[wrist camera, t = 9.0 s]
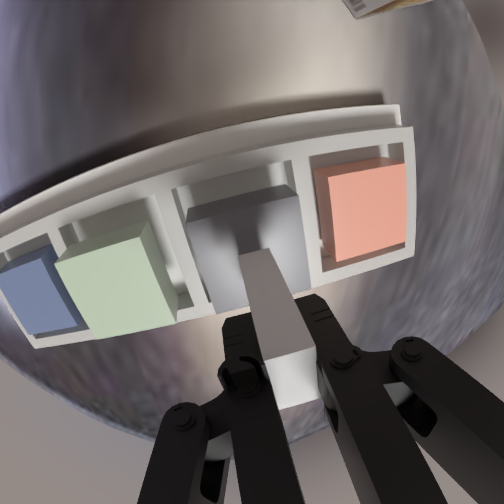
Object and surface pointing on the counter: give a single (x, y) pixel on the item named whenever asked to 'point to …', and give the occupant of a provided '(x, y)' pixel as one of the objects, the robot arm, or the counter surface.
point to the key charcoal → (248, 241)
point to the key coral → (361, 206)
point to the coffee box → (378, 6)
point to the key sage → (119, 281)
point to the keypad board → (213, 195)
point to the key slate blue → (38, 292)
